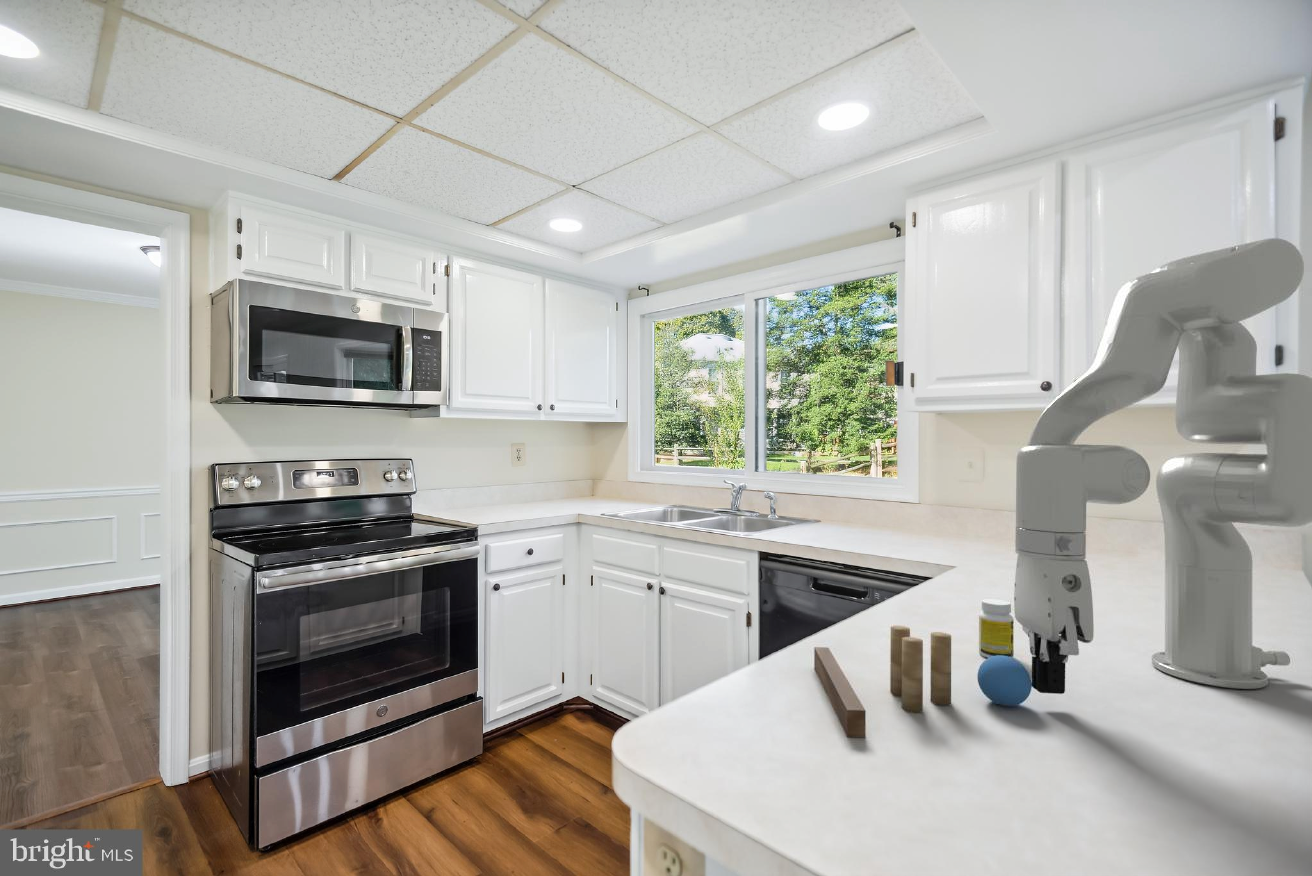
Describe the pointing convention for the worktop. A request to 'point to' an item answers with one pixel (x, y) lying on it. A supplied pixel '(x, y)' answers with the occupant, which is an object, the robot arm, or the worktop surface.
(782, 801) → the worktop surface
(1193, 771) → the worktop surface
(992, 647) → the supplement bottle
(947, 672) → the pin front
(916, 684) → the pin
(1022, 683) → the ball
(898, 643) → the pin
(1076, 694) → the worktop surface
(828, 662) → the back rail
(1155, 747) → the worktop surface
